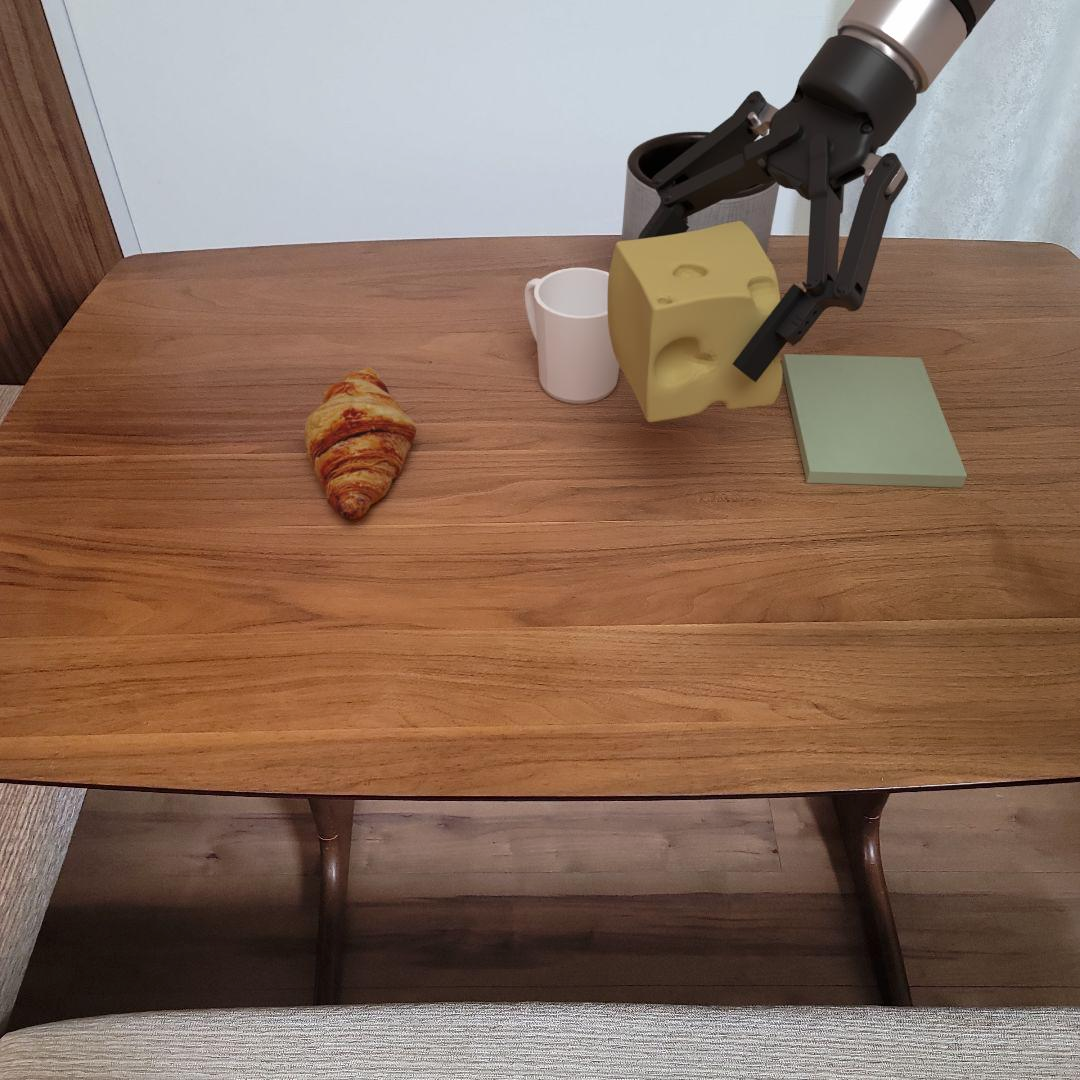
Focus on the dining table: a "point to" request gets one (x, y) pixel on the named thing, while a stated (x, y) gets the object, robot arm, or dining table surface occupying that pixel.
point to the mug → (572, 334)
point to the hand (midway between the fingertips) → (681, 329)
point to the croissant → (357, 442)
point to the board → (870, 422)
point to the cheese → (691, 319)
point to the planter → (654, 156)
